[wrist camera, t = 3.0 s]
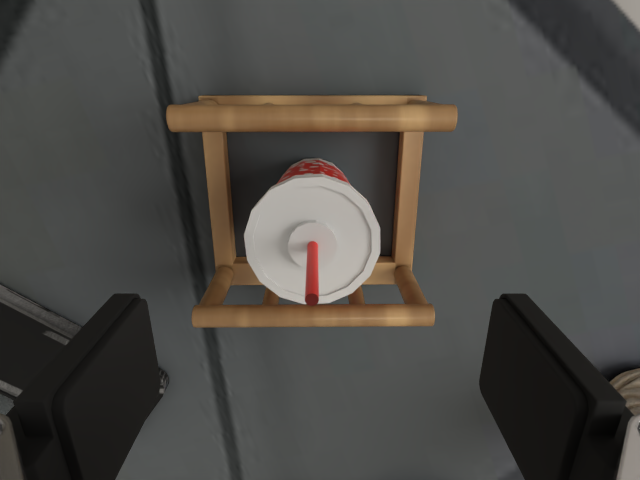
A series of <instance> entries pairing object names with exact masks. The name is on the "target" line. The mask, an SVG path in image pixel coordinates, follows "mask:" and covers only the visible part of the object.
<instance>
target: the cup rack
mask: <svg viewBox="0 0 640 480" xmlns="http://www.w3.org/2000/svg"><path fill="white" fill-rule="evenodd" d="M426 100H427V96H424V95H202V96H199V101H198V102H193V103H187V104H182V105H169V106H168V107H167V111H166V120H167V125H168V127H169V129H170V131H172V132H202V136H203V147H204V157H205V167H206V177H207V187H208V197H209V207H210V218H211V228H212V238H213V248H214V258H215V268H216V273H215V275H214V277H213V279H212V281H211V282H210V284H209V286H208V288H207V290H206V292H205V294H204V296H203V298H202V300H201V302H200V304H199V305H195V306H194V308H193V311H192V324H193V327H352V326H433V325H434V321H435V312H434V307H433V305H432V304H428V303H427V301H426V299H425V297H424V295H423V293H422V291H421V289H420V287H419V285H418V283H417V281H416V279H415V277H414V275H413V273H412V261H413V249H414V238H415V226H416V215H417V203H418V191H419V180H420V168H421V157H422V145H423V134H424V132H451V131H453V130H454V129H455V127H456V124H457V116H458V114H457V108H456V106H455V105H443V104H438V103H433V102H427V101H426ZM226 132H400V137H399V152H398V167H397V182H396V197H395V212H394V227H393V242H392V256H379V257H378V259H377V262H376V264H375V266H374V269H373V271H372V273H371V275H370V277H369V278H367V279H366V280H365V281H364V282H363V283H362V284H397V285H398V288H399V290H400V293H401V295H402V298H403V300H404V303H405V304H365V301H364V296H363V292H362V287H361V285H360V286H359V287H358V288H357V289H356V290H355V291H354V292H353V293H351V294H349V295H348V299H349V304H316V305H314V306H310V305H308V304H305V305H278V303H279V296H278V295H277V294H275V293H274V292H273V291H271V290H270V289H269V288H267V287H266V290H265V295H264V299H263V303H262V305H222V304H223V302H224V300H225V297H226V295H227V292H228V290H229V288H230V285H264V284H262V283H261V282H260V281H259V279H258V278H257V276H256V274H255V273H254V271H253V269H252V268H251V266H250V264H249V263H248V261H247V257H236V249H235V236H234V224H233V211H232V198H231V185H230V173H229V160H228V147H227V134H226Z"/></svg>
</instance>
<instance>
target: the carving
mask: <svg viewBox="0 0 640 480" xmlns="http://www.w3.org/2000/svg"><path fill="white" fill-rule="evenodd" d="M609 383H610V384H611V385H612V386H613V387H614V388H615V389H616V390H617V391H618V392H619V393H620V394H621V395H622V397H623V398H624V399H625V400H626V401H627V402H626V405H625V406H626V407H627V408H628V409H629V410H630V411H631V412H632V413H633V414H634V416H635V415H637V414H640V368H638V369H634V370H630V371H626V372H623V373H621V374H619V375H618V376H616V377H615V378H614V379H613V380H611V381H610V382H609Z"/></svg>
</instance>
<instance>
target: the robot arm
mask: <svg viewBox="0 0 640 480" xmlns="http://www.w3.org/2000/svg"><path fill="white" fill-rule="evenodd" d="M160 385H161V380H160V374H159V368H158V362H157V357H156V351H155V345H154V339H153V334H152V328H151V322H150V316H149V311H148V305H147V302H146V300H145V299H141V298H140V296H139V295H138V294H114V295H113V296H112V297H111V298H110V299H109V300H108V301H107V302H106V303H105V304H104V305H103V306H102V307H101V308H100V309H99V310H98V311H97V312H96V314H95V315H94V316H93V317H92V318H91V319H90V320H89V321H88V322H87V323H86V324H85V325H84V326H83V327H82V328H81V330H80V331H79V332H78V333H77V334H76V335H75V336H74V337H73V338H72V339H71V340H70V341H69V342H68V343H67V344H66V345H65V347H64V348H63V349H62V350H61V351H60V352H59V353H58V354H57V355H56V356H55V357H54V358H53V359H52V360H51V361H50V362H49V364H48V365H47V366H46V367H45V368H44V369H43V370H42V371H41V372H40V373H39V374H38V375H37V376H36V377H35V378H34V380H33V381H32V382H31V383H30V384H29V385H28V386H27V387H26V388H25V389H24V390H23V391H22V392H21V393H20V394H19V395H18V397H17V398H16V399H15V400H14V401H13V402H14V405H15V406H14V407H13V408H12V409H11V410H10V411H9V412H8V413H7V414H6V416H5V415H3V414H0V480H115V479H116V477H117V475H118V473H119V471H120V469H121V467H122V465H123V463H124V461H125V459H126V457H127V455H128V453H129V451H130V449H131V447H132V445H133V443H134V441H135V439H136V437H137V435H138V433H139V431H140V429H141V427H142V425H143V423H144V421H145V419H146V417H147V415H148V413H149V411H150V410H151V408H152V406H153V404H154V402H155V400H156V398H157V396H158V393H159V390H160ZM479 385H480V390H481V393H482V396H483V398H484V400H485V402H486V404H487V406H488V408H489V410H490V411H491V413H492V415H493V417H494V419H495V421H496V423H497V425H498V427H499V429H500V431H501V433H502V435H503V437H504V439H505V441H506V443H507V445H508V447H509V449H510V451H511V453H512V455H513V457H514V459H515V461H516V463H517V465H518V467H519V469H520V471H521V473H522V475H523V477H524V479H525V480H640V414H637V415H635V416H634V414H633V413H632V412H631V411H630V410H629V409H628V408H627V407H626V406H625V405H626V402H627V401H626V400H625V399H624V398H623V397H622V395H621V394H620V393H619V392H618V391H617V390H616V389H615V388H614V387H613V386H612V385H611V384H610V383H609V382H608V381H607V380H606V378H605V377H604V376H603V375H602V374H601V373H600V372H599V371H598V370H597V369H596V368H595V367H594V366H593V365H592V364H591V362H590V361H589V360H588V359H587V358H586V357H585V356H584V355H583V354H582V353H581V352H580V351H579V350H578V349H577V348H576V347H575V345H574V344H573V343H572V342H571V341H570V340H569V339H568V338H567V337H566V336H565V335H564V334H563V333H562V332H561V331H560V330H559V328H558V327H557V326H556V325H555V324H554V323H553V322H552V321H551V320H550V319H549V318H548V317H547V316H546V315H545V314H544V312H543V311H542V310H541V309H540V308H539V307H538V306H537V305H536V304H535V303H534V302H533V301H532V300H531V299H530V298H529V297H528V296H527V295H526V294H502V295H501V296H500V298H499V299H495V300H494V302H493V305H492V311H491V316H490V322H489V328H488V334H487V339H486V345H485V351H484V357H483V362H482V368H481V374H480V380H479Z"/></svg>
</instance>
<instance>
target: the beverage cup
mask: <svg viewBox="0 0 640 480" xmlns="http://www.w3.org/2000/svg"><path fill="white" fill-rule="evenodd" d="M244 240H245V248H246V256H247V261H248V263H249V264H250V266H251V268H252V269H253V271H254V273H255V274H256V276H257V278H258V279H259V281H260V282H261V283H262V284H264V285H265V286H266V287H267V288H269V289H270V290H271V291H273V292H274V293H275V294H277V295H278V296H279V297H282V298H285V299H288V300H292V301H295V302H298V303H302V304H308V305H310V306H314V305H316V304H318V303H330V302H333V301H335V300H337V299H340V298H342V297H344V296H347V295H349V294H351V293H353V292H354V291H355V290H356V289H357V288H358V287H359V286H360V285H361V284H362V283H363V282H364V281H365V280H366V279H367V278H369V277H370V275H371V273H372V271H373V269H374V266H375V264H376V262H377V259H378V257H379V255H380V226H379V224H378V222H377V220H376V218H375V215H374V213H373V211H372V209H371V206H370V204H369V202H368V201H367V200H366V199H365V198H364V197H363V196H362V195H361V194H360V193H359V192H358V191H356V190H355V189H354V188H353V187H352V186H351V185H350V183H349V182H348V180H347V178H346V177H345V175H344V174H343V172H342V171H341V170H339V169H338V168H337V167H336V166H335V165H334V164H333V163H331V162H328V161H326V160H323V159H320V158H311V159H303V160H301V161H299V162H297V163H295V164H293V165H291V166H290V167H289V169H288V170H287V171H286V172H285V173H284V174H283V175H282V177H281V178H280V180H279V181H278V183H277V184H276V185H274V186H272V187H271V188H270V189H269V190H268V191H267V192H266V193H265V195H264V196H263V197H262V198H261V199H260V200H259V201H258V203H257V204H256V205H255V206H254V208H253V209H252V211H251V214H250V217H249V220H248V224H247V227H246V230H245V234H244Z"/></svg>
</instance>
